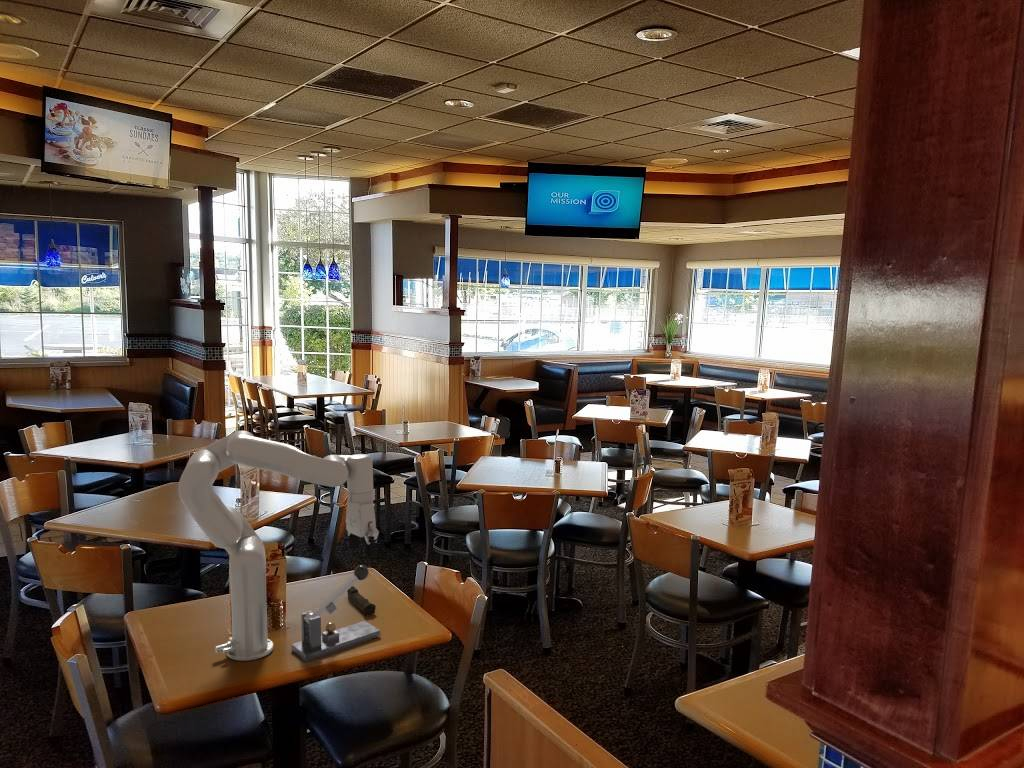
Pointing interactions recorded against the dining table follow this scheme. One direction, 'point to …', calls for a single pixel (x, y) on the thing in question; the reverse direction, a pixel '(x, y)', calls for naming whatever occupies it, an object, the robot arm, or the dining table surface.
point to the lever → (338, 593)
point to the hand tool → (361, 601)
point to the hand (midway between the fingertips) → (362, 552)
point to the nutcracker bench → (325, 648)
